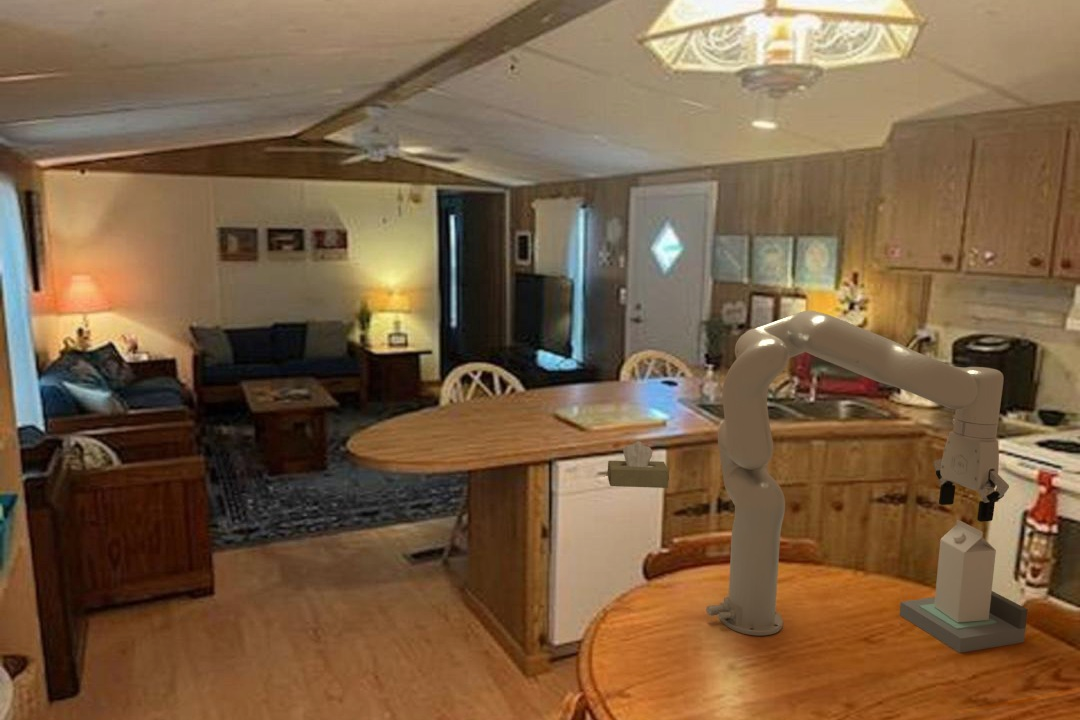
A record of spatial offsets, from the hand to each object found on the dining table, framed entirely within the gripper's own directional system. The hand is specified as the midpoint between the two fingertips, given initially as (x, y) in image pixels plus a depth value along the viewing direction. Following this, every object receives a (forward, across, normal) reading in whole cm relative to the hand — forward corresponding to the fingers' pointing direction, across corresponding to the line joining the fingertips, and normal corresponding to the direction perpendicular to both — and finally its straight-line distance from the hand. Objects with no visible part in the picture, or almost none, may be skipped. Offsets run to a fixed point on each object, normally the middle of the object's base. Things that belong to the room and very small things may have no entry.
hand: (964, 512), depth 155 cm
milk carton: (+22, +1, +2) cm, 22 cm away
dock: (+25, 0, +2) cm, 25 cm away
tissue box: (+27, -102, -26) cm, 108 cm away
